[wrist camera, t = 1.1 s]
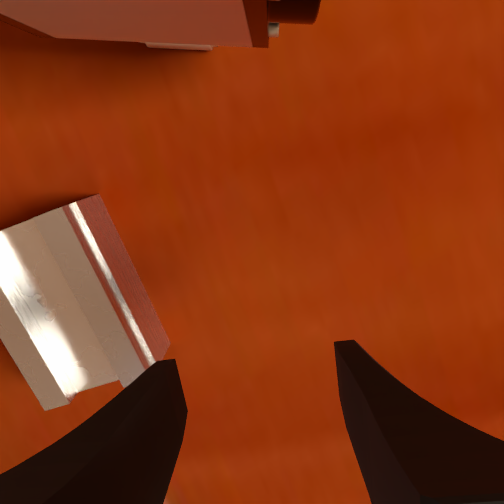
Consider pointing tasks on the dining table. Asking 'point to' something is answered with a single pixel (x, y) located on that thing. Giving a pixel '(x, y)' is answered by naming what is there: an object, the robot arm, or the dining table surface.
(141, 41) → the pneumatic valve
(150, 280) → the dining table surface
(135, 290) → the block
